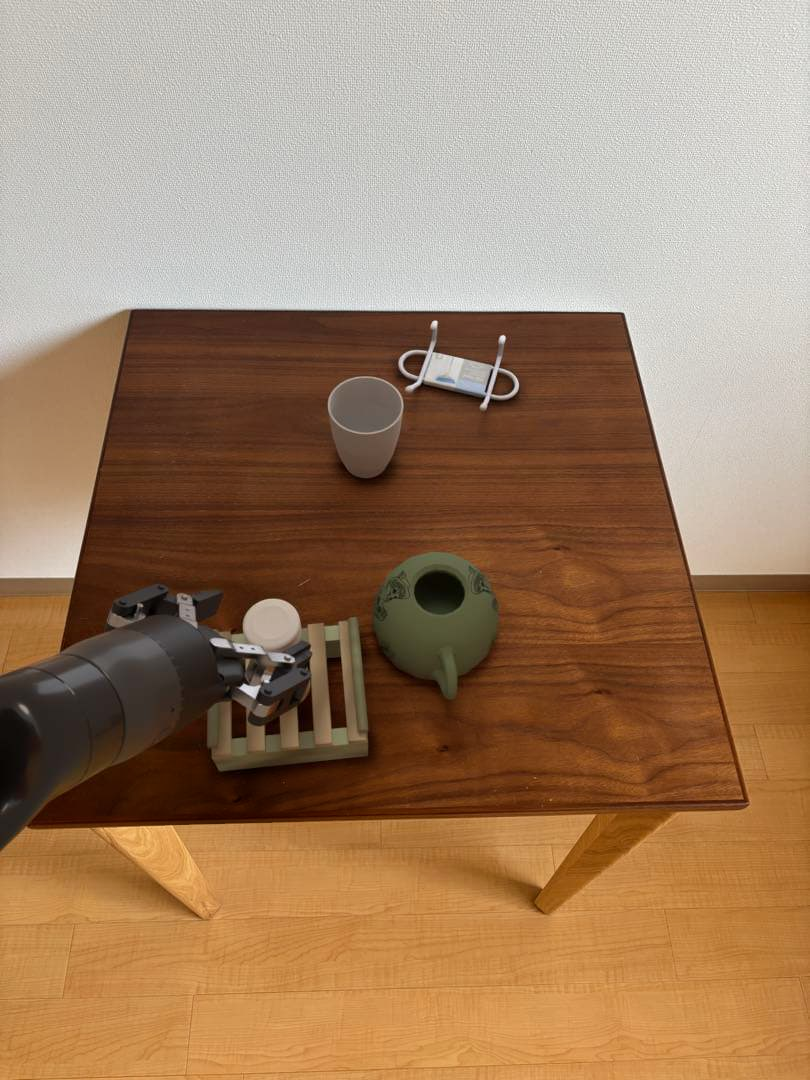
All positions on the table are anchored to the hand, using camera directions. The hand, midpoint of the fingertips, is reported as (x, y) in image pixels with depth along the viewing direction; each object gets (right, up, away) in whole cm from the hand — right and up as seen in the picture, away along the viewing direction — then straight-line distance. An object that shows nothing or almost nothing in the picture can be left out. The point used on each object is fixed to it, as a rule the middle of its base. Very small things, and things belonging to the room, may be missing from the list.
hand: (259, 626), depth 65 cm
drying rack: (0, -9, +15) cm, 18 cm away
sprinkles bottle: (+1, -7, +11) cm, 13 cm away
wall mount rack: (+18, +26, +37) cm, 49 cm away
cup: (+7, +16, +31) cm, 36 cm away
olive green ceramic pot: (+15, -4, +19) cm, 24 cm away
